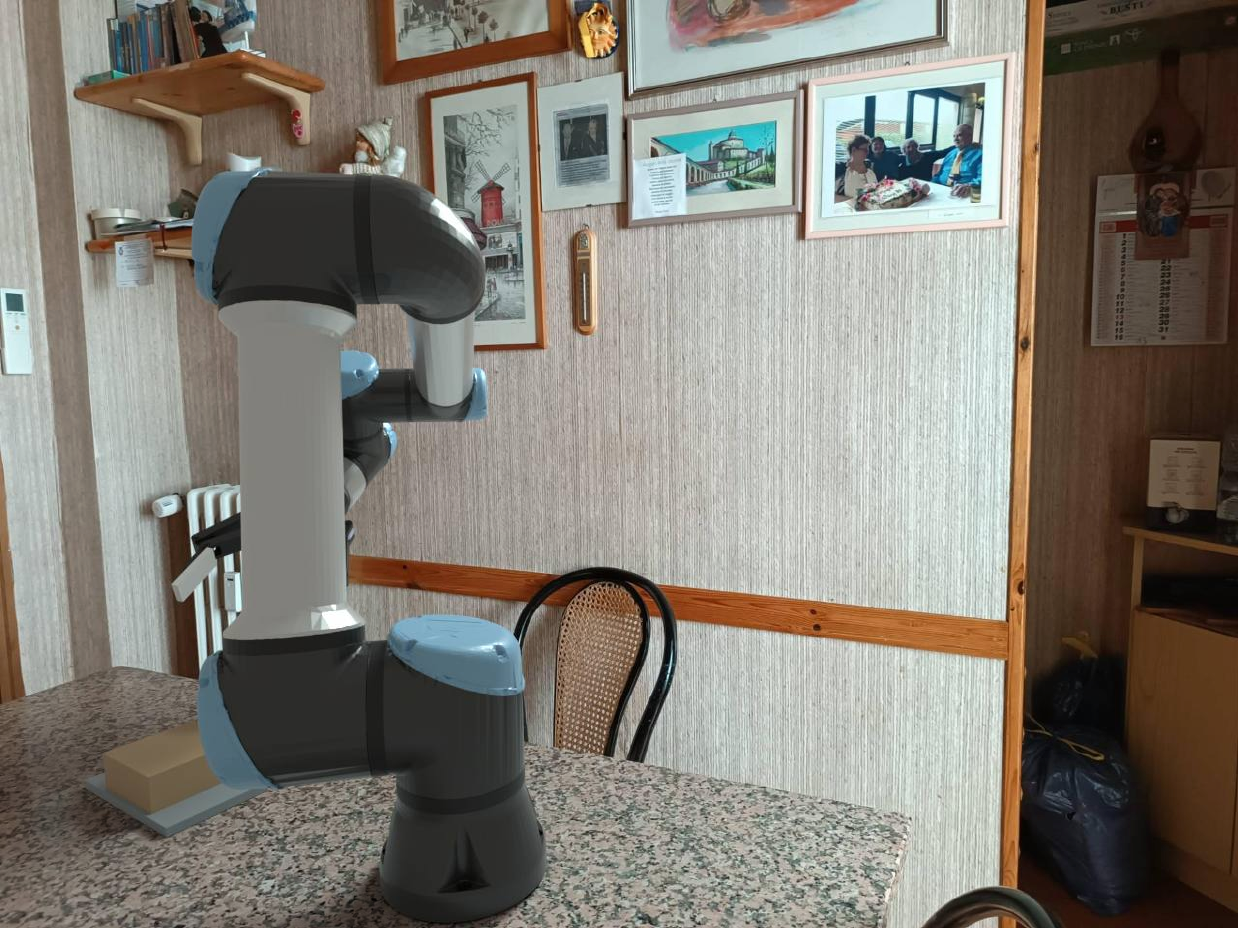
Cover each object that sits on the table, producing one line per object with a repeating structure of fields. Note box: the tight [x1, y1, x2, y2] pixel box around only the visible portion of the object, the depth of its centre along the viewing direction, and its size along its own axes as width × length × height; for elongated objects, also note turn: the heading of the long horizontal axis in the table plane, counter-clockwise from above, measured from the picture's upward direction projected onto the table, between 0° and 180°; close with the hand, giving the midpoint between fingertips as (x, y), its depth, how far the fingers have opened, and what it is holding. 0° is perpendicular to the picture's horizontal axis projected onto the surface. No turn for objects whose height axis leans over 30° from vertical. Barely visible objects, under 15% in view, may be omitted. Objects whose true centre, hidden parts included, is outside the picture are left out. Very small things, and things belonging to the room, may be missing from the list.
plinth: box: [84, 719, 269, 838], centre depth 89 cm, size 18×11×5 cm, turn 56°
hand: (230, 606), depth 91 cm, fingers open, 13 cm apart
